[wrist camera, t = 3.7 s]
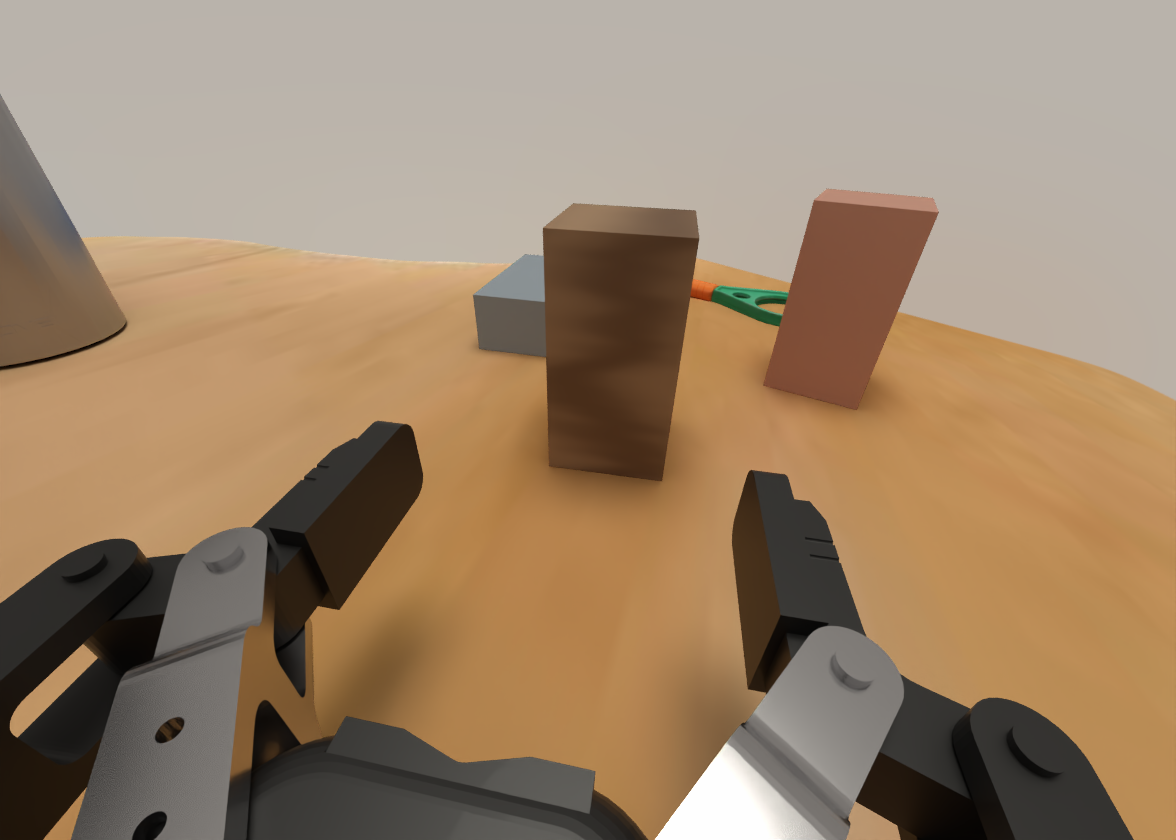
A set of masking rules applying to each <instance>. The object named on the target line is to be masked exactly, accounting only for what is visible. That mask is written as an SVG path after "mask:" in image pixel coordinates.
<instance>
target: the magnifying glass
mask: <svg viewBox="0 0 1176 840" xmlns="http://www.w3.org/2000/svg"><path fill="white" fill-rule="evenodd" d="M788 294H789V293H788V292H782V291H773V290H761V289H750V288H740V287H728V286H718V285H716V284H712V283H707V282H703V281H699V280H695V279H693V281H692V288H691V294H690V297H694V298H698V299H703V300H707V301H712V302H716V303H719V304H721V305H723V306H726V307H728V308H730V309H733V310H735V311H737V312H740V313H742V314H744V315H747V316H749V317H751V318H754V319H756V320H758V321H761V322H764V323H768V324H771V325H776V326H780V323H781V320H782V316H783V314H778V313H774V312H771V311H768V310H765V309H762V308H760V307H758V306H757V305H760V304H768V303H776V304H785V305H786V301H787V298H788Z"/></svg>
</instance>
